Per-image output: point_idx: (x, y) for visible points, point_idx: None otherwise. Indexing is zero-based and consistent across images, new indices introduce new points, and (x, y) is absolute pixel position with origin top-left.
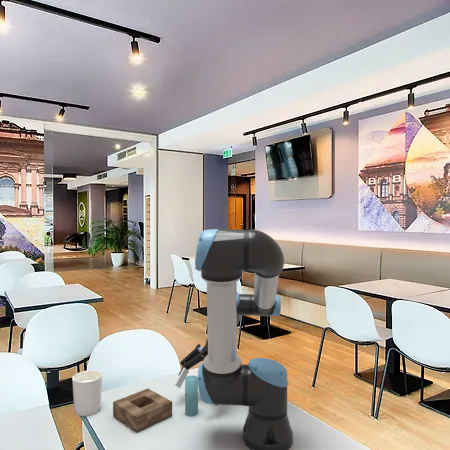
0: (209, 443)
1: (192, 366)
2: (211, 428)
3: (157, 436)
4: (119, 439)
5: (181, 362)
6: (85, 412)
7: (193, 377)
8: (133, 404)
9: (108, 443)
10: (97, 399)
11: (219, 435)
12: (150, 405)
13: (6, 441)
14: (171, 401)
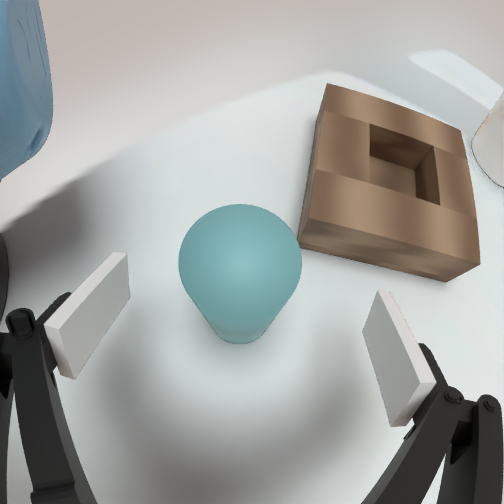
0: (82, 182)
1: (389, 464)
2: (104, 253)
3: (249, 131)
4: None
5: (489, 403)
6: (477, 130)
7: (235, 282)
8: (408, 135)
9: (334, 75)
10: (493, 135)
11: (67, 231)
12: (358, 150)
13: (455, 55)
14: (312, 217)
